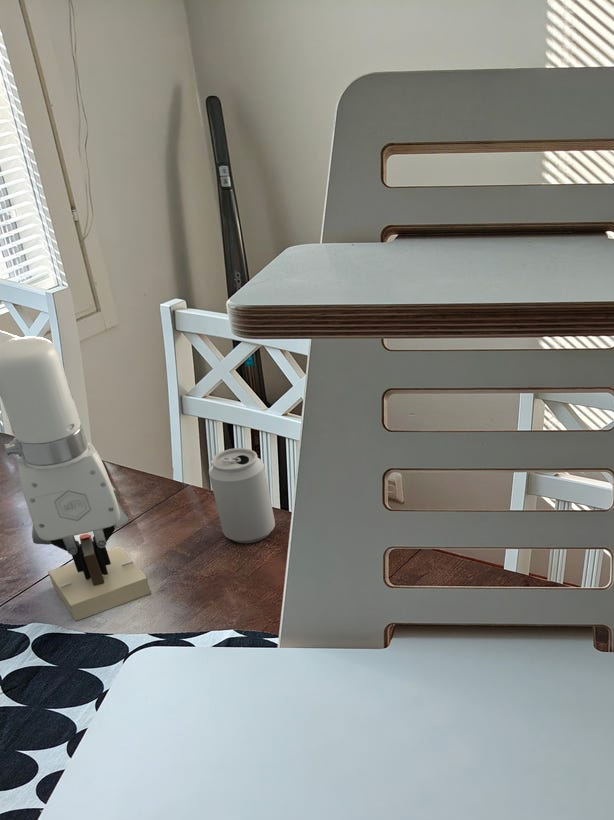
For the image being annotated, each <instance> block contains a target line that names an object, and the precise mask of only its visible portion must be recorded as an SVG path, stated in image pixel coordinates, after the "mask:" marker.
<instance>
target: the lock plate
mask: <svg viewBox="0 0 614 820" xmlns="http://www.w3.org/2000/svg"><path fill="white" fill-rule="evenodd" d="M107 553H108V556H109V559H110V562H111V564H110V565H106V568H107V572H108V574H107V575H104V574H103V578H104V583H103V584H99V585H95V586H94V585H93V583H92V580H91V578H90V579H87V580H86V578H85V575H84V572H83V571H82V572H78V571H77V569H76V566H75V563H74V562H71V563H68V564H65V565H62V566H59V567H57V568H54V569H51V570H48V571H47V573H48V576H49V578H50V581H51V584H52V586H53V589H54V590H55V592H56V593H57V594H58V597H60V599H61V601H62V602H63V603H64V605H65V607H66V608H67V610H68V611H69V613H70V615H72V617H73V619H74V620H75V622H78V621H80V620H83V619H86V618H88V617H91V616H94V615H96V614H99V613H102V612H104V611H107V610H110V609H113V608H115V607H118V606H121V605H125V604H126V603H130V602H131V601H134V600H138V599H139V598H142V597H145V596H147V595H150V594H152V591H151V587H150V584H149V581H148V578H147V576H146V575H145V574H144V572H142V570H141V569H140V568H139V566H138V565H137V564H136V562H135V561H134V560H133V559H132V558H131V557H130V555H129V554H128V552H126V550H125V549H124V548H123V546H122V545H120V546H117V547H115V548H112V549H111V548H110V549H109V550H108V549H107Z"/></svg>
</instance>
